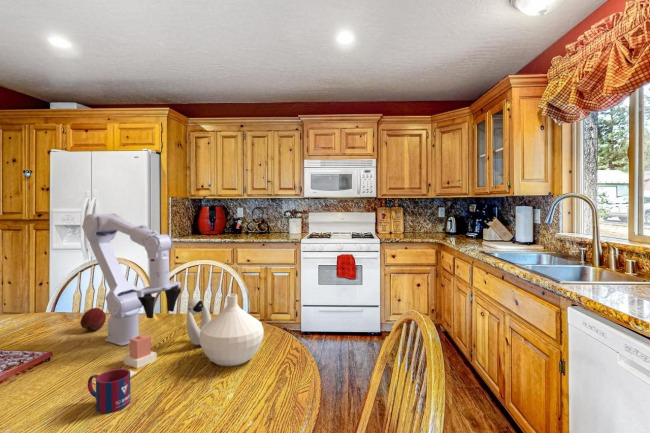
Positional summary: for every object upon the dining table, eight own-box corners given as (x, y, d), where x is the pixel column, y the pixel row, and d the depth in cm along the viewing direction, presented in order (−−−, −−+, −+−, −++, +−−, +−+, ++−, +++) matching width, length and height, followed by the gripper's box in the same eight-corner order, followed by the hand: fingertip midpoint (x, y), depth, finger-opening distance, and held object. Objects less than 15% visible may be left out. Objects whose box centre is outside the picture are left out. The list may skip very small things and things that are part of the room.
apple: (110, 329, 127) (109, 307, 126) (86, 335, 120) (86, 312, 120) (100, 325, 131) (99, 304, 130) (76, 331, 124) (76, 309, 124)
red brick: (129, 355, 100) (129, 337, 100) (143, 350, 103) (143, 333, 103) (137, 359, 98) (137, 340, 98) (151, 354, 101) (150, 335, 101)
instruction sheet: (93, 383, 88) (93, 382, 88) (120, 369, 96) (120, 368, 96) (111, 387, 87) (111, 386, 87) (137, 372, 94) (137, 371, 94)
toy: (199, 352, 107) (199, 304, 107) (178, 350, 109) (178, 303, 108) (217, 338, 118) (217, 295, 118) (198, 337, 120) (198, 293, 119)
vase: (185, 367, 98) (185, 299, 97) (225, 343, 115) (225, 285, 114) (241, 379, 91) (241, 307, 91) (274, 351, 108) (274, 290, 108)
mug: (111, 416, 75) (111, 385, 75) (78, 407, 78) (77, 377, 78) (137, 399, 81) (137, 371, 81) (105, 392, 84) (105, 364, 84)
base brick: (123, 365, 99) (123, 356, 99) (143, 357, 105) (143, 348, 105) (137, 369, 97) (137, 360, 97) (156, 361, 102) (156, 352, 102)
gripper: (147, 277, 103) (148, 322, 103) (186, 269, 116) (187, 309, 116) (131, 275, 106) (133, 319, 106) (172, 267, 119) (173, 307, 119)
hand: (160, 314), depth 111 cm, fingers open, 7 cm apart
